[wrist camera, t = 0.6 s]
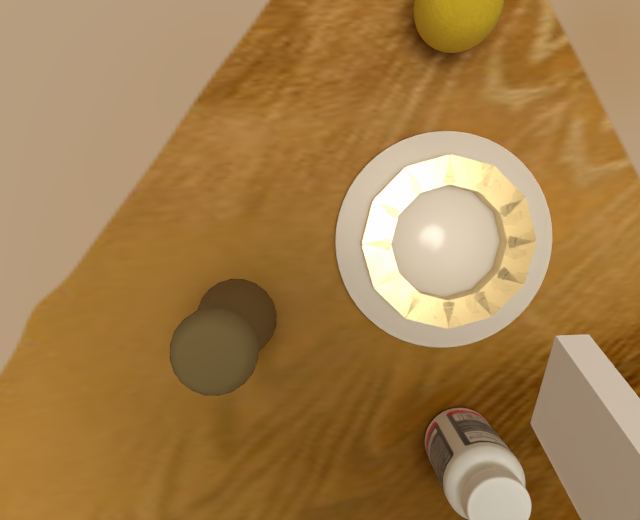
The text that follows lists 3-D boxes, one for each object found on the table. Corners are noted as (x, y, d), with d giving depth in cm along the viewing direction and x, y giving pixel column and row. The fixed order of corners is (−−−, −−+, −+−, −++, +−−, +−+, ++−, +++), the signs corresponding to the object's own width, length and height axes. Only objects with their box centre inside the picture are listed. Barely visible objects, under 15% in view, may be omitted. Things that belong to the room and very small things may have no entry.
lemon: (467, 75, 40) (504, 43, 32) (395, 51, 40) (414, 14, 32) (491, -1, 39) (536, -52, 32) (418, -25, 39) (444, -83, 31)
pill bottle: (454, 485, 43) (494, 566, 34) (409, 437, 43) (436, 506, 33) (506, 440, 43) (561, 510, 33) (461, 391, 43) (504, 448, 33)
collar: (558, 239, 41) (568, 241, 39) (443, 353, 41) (448, 359, 40) (444, 124, 40) (450, 120, 38) (328, 243, 40) (329, 245, 39)
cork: (191, 348, 42) (147, 400, 31) (204, 272, 41) (164, 297, 30) (269, 363, 42) (252, 419, 31) (283, 286, 42) (271, 317, 31)
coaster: (591, 238, 41) (597, 239, 41) (440, 386, 42) (442, 390, 42) (442, 86, 40) (445, 83, 39) (291, 243, 41) (290, 243, 40)
